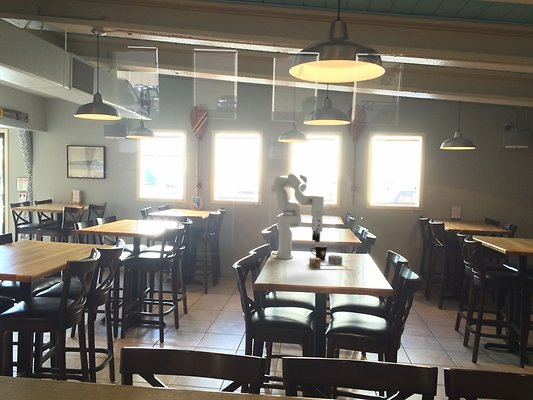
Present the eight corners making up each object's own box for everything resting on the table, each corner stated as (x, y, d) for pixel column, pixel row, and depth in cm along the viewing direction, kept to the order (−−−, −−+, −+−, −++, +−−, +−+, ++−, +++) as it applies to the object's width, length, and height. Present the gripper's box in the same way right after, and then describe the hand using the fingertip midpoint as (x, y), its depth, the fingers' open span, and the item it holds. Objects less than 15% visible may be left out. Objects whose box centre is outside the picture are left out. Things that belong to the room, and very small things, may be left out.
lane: (311, 269, 282) (311, 269, 282) (305, 264, 297) (305, 264, 297) (351, 269, 287) (351, 269, 287) (343, 265, 301) (343, 264, 301)
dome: (332, 263, 304) (333, 255, 304) (330, 262, 309) (330, 254, 309) (339, 263, 305) (340, 255, 305) (337, 262, 310) (337, 254, 310)
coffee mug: (326, 259, 323) (326, 245, 323) (326, 261, 315) (327, 247, 314) (310, 258, 324) (311, 244, 324) (310, 260, 316) (311, 246, 315)
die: (311, 268, 286) (312, 258, 286) (309, 266, 293) (309, 257, 292) (320, 268, 287) (320, 259, 287) (317, 266, 294) (318, 257, 293)
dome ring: (330, 264, 302) (331, 257, 302) (326, 262, 311) (327, 255, 311) (343, 264, 303) (343, 257, 303) (339, 262, 312) (339, 255, 312)
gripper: (326, 215, 281) (325, 243, 282) (319, 213, 298) (317, 239, 299) (315, 214, 279) (313, 243, 280) (308, 212, 296) (307, 239, 297)
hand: (315, 240), depth 289 cm, fingers open, 5 cm apart
